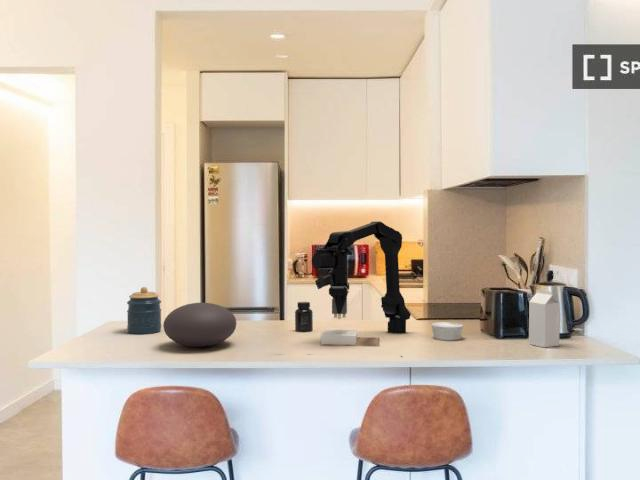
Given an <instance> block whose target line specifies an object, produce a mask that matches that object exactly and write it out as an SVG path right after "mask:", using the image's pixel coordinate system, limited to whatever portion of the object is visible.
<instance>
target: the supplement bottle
mask: <svg viewBox="0 0 640 480" xmlns="http://www.w3.org/2000/svg"><path fill="white" fill-rule="evenodd" d="M296 307H297V309H295V311H294V313H295V314H294V328H295V329H294V331H295V332H297V333H310V332H313V329H314V328H313V327H314V326H313V325H314V323H313V322H314V319H313V317H314V315H313V313H314V312H313V309H311V302H309V301H298V302H297V306H296Z"/></svg>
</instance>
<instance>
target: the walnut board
mask: <svg viewBox="0 0 640 480" xmlns="http://www.w3.org/2000/svg"><path fill="white" fill-rule="evenodd" d="M319 345H320V347H321V346H323V347H373V348H374V347H381V346H380V337H374V336H373V337H372V336H371V337H367V336H366V337H365V336H363V337H362V336H360V337H359V336H357V342H356V345H333V344H321V343H320V344H319Z"/></svg>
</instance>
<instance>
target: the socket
mask: <svg viewBox="0 0 640 480" xmlns="http://www.w3.org/2000/svg"><path fill="white" fill-rule="evenodd" d="M357 337H358V330H357V329H323V331H322V333H321V334H320V345H321V344H333V345H356V342H357Z"/></svg>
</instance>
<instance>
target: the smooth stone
mask: <svg viewBox="0 0 640 480" xmlns="http://www.w3.org/2000/svg"><path fill="white" fill-rule="evenodd" d="M162 326H163V330H164V331H163V332H164V333H165V335H166V336H167V337H168V338H169V339H170V340H171V341H173V342H175V343H177V344H179V345H182V346H185V347H193V348H199V347H200V348H203V347H210V346H214V345H218V344H220V343H222V342H224V341H225V340H227V339H228V338H230V337H231V336H232V335H233V334H234V332H235V330H236V329H237V328H236V327H237V319H236V316H235V315H234V313H232V312H231V310H229V309H227V308H226V307H225V306H223V305H220V304H215V303H213V302H193V303H187V304H184V305H181V306H179V307H177V308H175V309H173V310H172V311H170V312H169V313H168V314H167V316H166V317H165V319H164V321H163V324H162Z"/></svg>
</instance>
